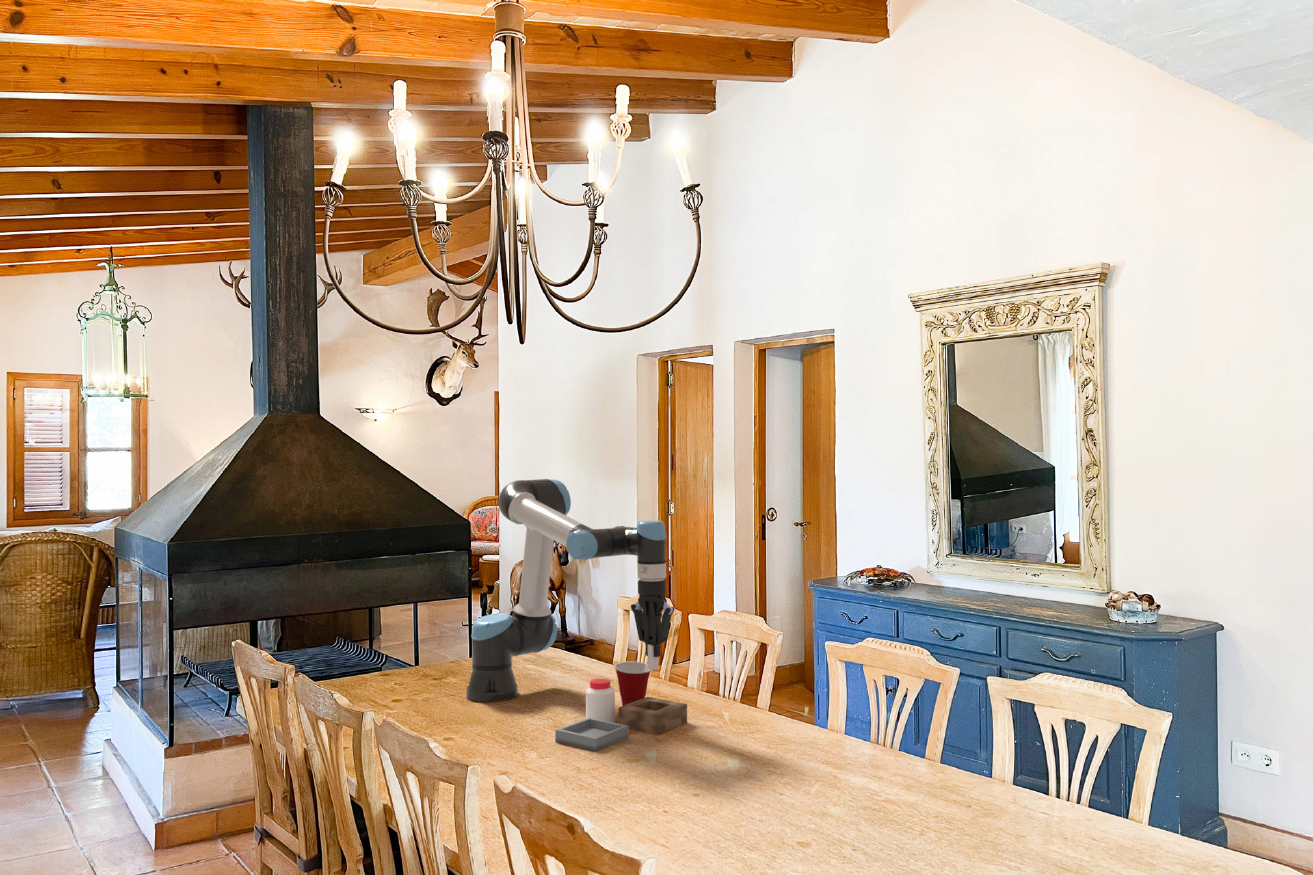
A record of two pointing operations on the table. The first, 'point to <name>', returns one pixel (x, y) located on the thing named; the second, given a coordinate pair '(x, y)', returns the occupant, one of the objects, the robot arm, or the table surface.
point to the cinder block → (653, 715)
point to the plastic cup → (632, 680)
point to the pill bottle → (600, 700)
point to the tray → (592, 734)
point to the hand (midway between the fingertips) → (653, 668)
